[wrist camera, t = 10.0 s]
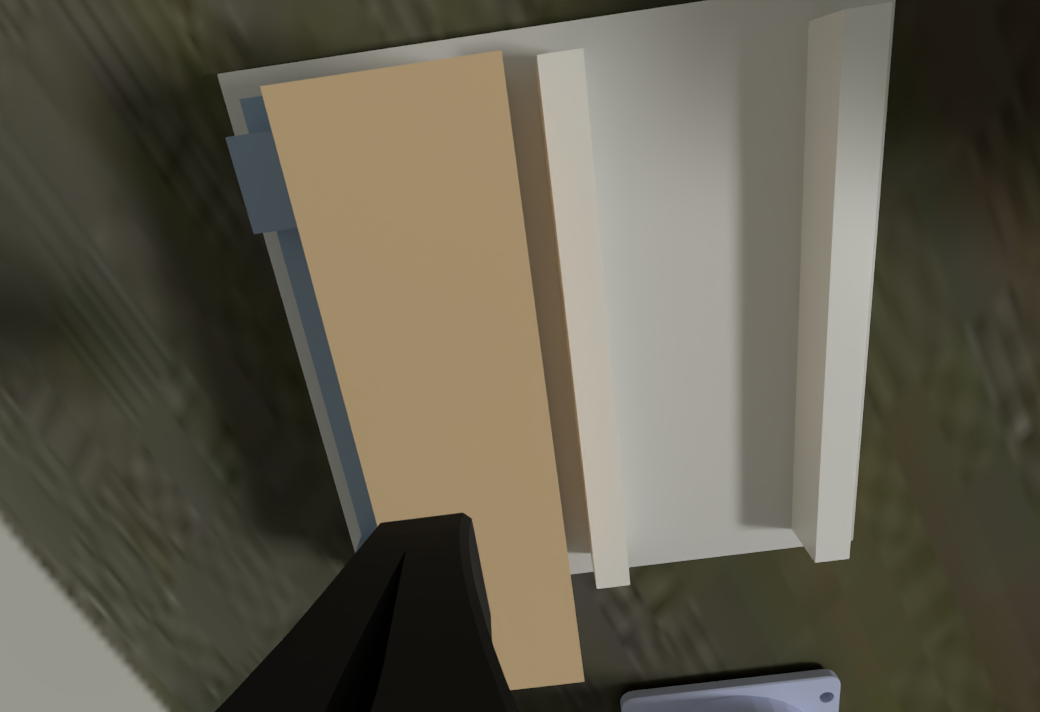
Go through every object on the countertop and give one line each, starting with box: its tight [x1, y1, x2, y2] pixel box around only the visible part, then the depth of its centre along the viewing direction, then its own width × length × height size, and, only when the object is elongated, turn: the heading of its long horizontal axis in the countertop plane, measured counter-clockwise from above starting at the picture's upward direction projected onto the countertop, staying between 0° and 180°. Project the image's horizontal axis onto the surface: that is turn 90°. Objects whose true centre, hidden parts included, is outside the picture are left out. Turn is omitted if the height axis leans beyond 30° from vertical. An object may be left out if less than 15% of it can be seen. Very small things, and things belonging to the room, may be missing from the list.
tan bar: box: [260, 50, 585, 690], centre depth 15 cm, size 14×4×5 cm, turn 8°
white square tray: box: [217, 0, 895, 589], centre depth 16 cm, size 16×16×3 cm
